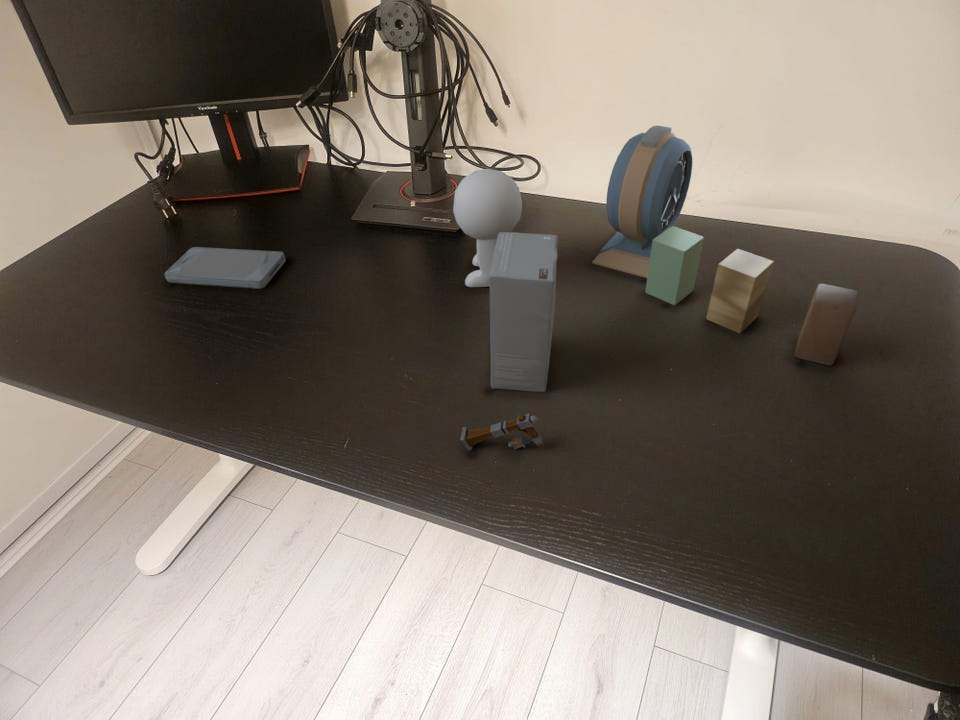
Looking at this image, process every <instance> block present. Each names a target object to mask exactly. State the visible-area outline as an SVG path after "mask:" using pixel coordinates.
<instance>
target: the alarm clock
mask: <svg viewBox="0 0 960 720" xmlns="http://www.w3.org/2000/svg"><path fill="white" fill-rule="evenodd" d="M672 129H673V128H672V127H669V126H662V125H653V126H651V127H649V128H648V130H646V132H640V133H638V134H635V135H634V136H632V137H630V138H629V139H628V140H627V141H626V143H624V145H623V147H622V149H621V150H620V152H619V154H618V155H617V158H616V160H615V162H614V165H613V167H612V171H611V174H610V177H609V181H608V186H607V192H606V202H605V203H606V206H605V207H606V215H607V221H608V222H609V225H610V226H611V227H612V228H613V229H614V230H615V231H616V232H615V234H614V235H613V236H611V238H610V239H609V240H608V241H607V242H606V244H604V246H602V248H601V249H599V253H598V254H597V256H596V257H595V258H594V259H593V260H592V262H591V264H593V265H597V266H600V267H604V268H608V269H612V270H616V271H619V272H622V273H625V274H629V275H633V276H637V277H641V278H645V279H647V277H648V270H649V263H650V256H651V249H652V242H653V239H654V238H656V237H657V236H659V235H660V234H662V233H663V232H665V231H666V230H668V229H669V228H670V227H672V226H675V225H676V223H677V222H678V219H679V217H680V215H681V212H682V210H683V207H684V205H685V201H686V199H687V195H688V191H689V188H690V183H691V180H692V179H691V178H692V173H693V154H692V148H691V146H690V145H689V144H688V143H687V141H685V140H684V139H682V138H679V137H677V136H676V135H675V133H673V132H672Z"/></svg>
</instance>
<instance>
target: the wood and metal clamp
mask: <svg viewBox="0 0 960 720" xmlns="http://www.w3.org/2000/svg"><path fill="white" fill-rule="evenodd" d="M517 415H518V416H517V418H516V419H515V418H514V419H513V420H509V421H507V420H503V422H502V421H500V422H497V423H494V424H491V425H490V426H488V427H485V428H477V429H469V428H468V427H467V426H465V427H464V426H462V429H461V436H460V442H461V444H463V446H464V447H465V448H466V449H467V451H468V452H470V451H473V446H475V445H476V444H478V443H480V442H482V441H485V440H487V439H490V438H494V439H495V438H498V437H501V436H505V435H510V434H511V432H513V431H518V432H520V436H517V437H511V440H510V441H508V443H507V446H508V447H509V448H513V449H514V451H516V450H517V449H520V448H522V447H523V449H526V445H527V444H528V445H529V444H530V442H534V444H536V446H537V447H538V448H540V447H543V446H544V439H543V438H542V436H541V434H540V433H539V432H538V431H537V430H536V429H535V428H534V424H535V423H536V422H538V418H537V416H536V415H534V414H533V415H531V414H530V413H526V414H523V413H522V414H517ZM522 433H523V434H526V435H528V436H526V437H524V436H523V434H522ZM529 436H530V437H529Z"/></svg>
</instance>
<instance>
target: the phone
mask: <svg viewBox="0 0 960 720" xmlns="http://www.w3.org/2000/svg"><path fill="white" fill-rule="evenodd" d="M286 261H287V260H286V256H285V254H284V252H283V251H274V250H273V251H272V250H257V249H256V250H255V249H240V248H239V249H238V248H220V247H204V246H203V247H202V246H193V247H191V248H189V249H188V250H186V252H185V253H183V255H181V256H180V257H179V259H178V260H177V261H175V262H174V263H173V264H172V265H171V266H170V267H169V268H168V269H167V270H166V271H164V274H163V275H164V278H165V280H166V281H167V283H168V284H169V283H170V284H181V285H182V284H183V285H195V286H196V285H197V286H198V285H199V286H211V287H225V288H226V287H227V288H239V289H241V288H242V289H253V290H254V289H255V290H262V289H265V288H266V286H267V285H268V284H269V283H270V282H271V281H272V280H273V278H274V277H275V276H276V274H277V273H278V272H279V270H280V269H281V268H283V267H282V266H283V265H284V264H285V263H286Z"/></svg>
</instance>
